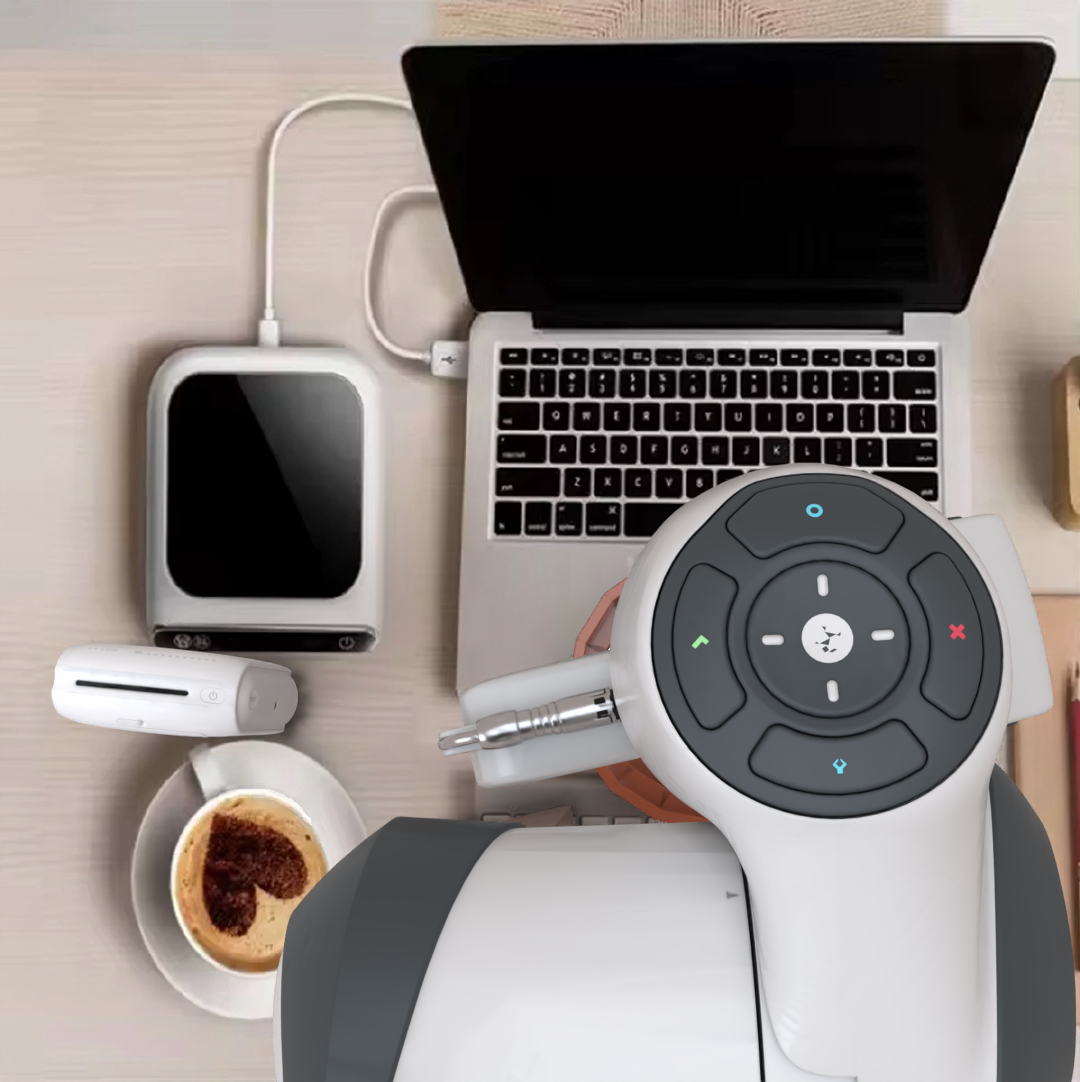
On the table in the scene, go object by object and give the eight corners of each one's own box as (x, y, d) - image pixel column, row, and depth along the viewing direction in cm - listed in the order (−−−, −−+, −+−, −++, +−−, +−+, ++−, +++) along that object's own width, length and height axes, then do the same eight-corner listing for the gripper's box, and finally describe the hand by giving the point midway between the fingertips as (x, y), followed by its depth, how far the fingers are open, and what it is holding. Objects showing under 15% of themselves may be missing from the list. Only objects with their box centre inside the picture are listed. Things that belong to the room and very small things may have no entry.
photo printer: (305, 663, 79) (245, 653, 67) (296, 739, 79) (234, 744, 67) (129, 646, 80) (38, 633, 68) (119, 721, 80) (26, 722, 67)
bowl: (859, 788, 76) (876, 794, 71) (606, 845, 77) (603, 855, 71) (795, 537, 78) (807, 524, 73) (549, 595, 79) (542, 586, 73)
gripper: (450, 847, 43) (495, 819, 57) (1108, 699, 42) (992, 706, 56) (408, 647, 44) (462, 666, 57) (1051, 498, 43) (950, 554, 57)
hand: (727, 685), depth 57 cm, fingers closed
